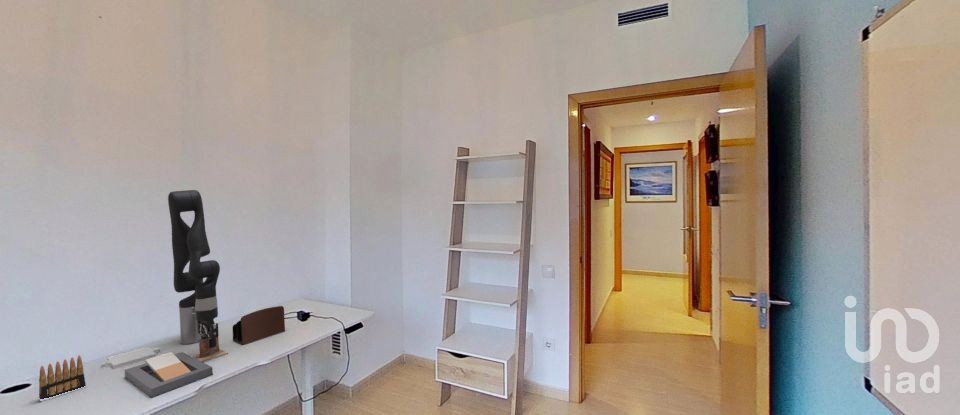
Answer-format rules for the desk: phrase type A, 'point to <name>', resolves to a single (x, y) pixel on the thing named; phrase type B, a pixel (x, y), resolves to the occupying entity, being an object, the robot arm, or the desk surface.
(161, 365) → the two-tone tile
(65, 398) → the desk surface
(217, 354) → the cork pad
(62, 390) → the ammunition clip
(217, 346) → the lighter
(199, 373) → the gray rectangular recessed tray
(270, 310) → the letter holder
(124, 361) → the mounting plate
